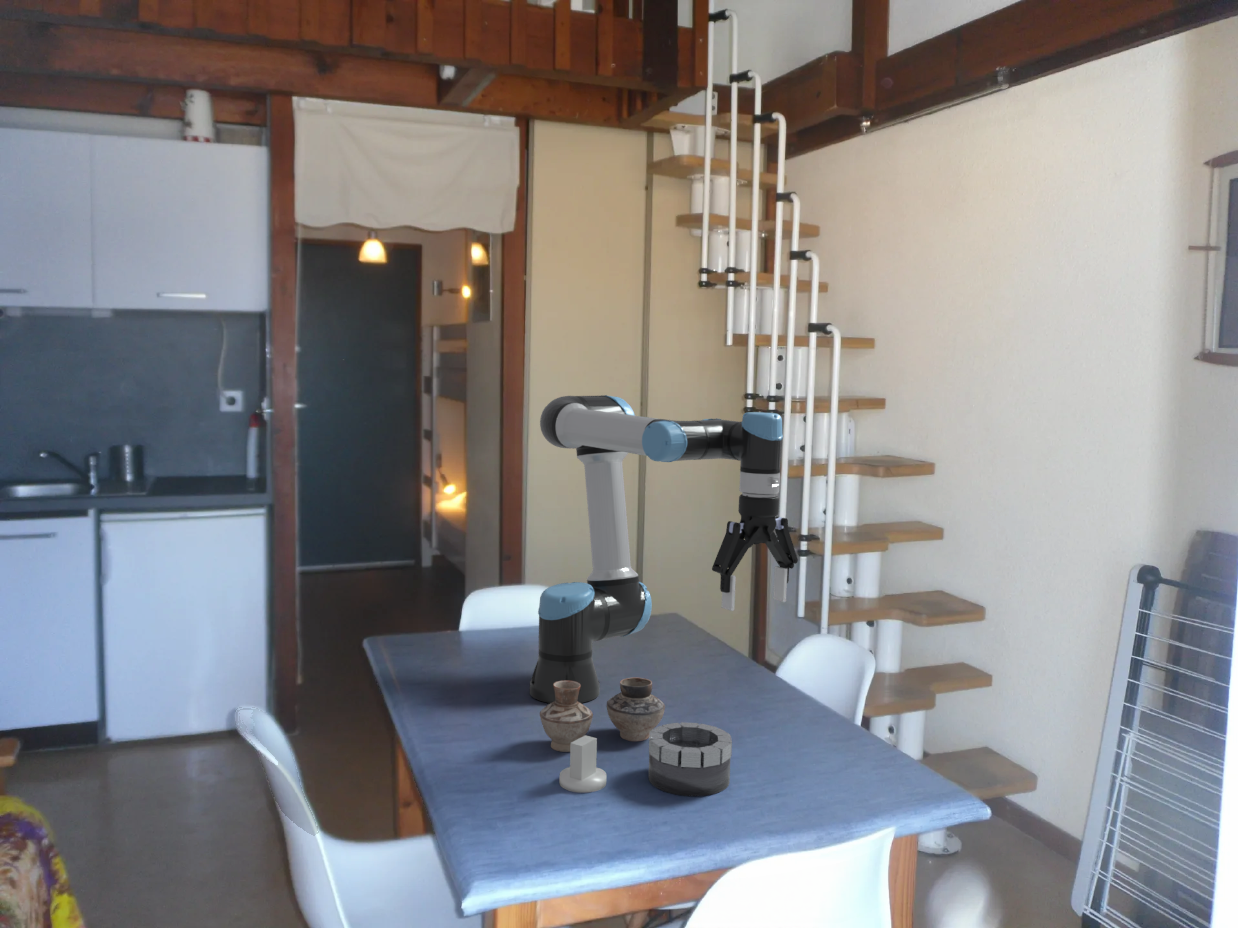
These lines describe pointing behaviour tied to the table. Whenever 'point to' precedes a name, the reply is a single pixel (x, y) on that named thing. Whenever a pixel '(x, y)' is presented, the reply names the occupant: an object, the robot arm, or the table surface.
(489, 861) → the table surface
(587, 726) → the pottery
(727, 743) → the toothed ring drum
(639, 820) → the table surface
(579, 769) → the cap
